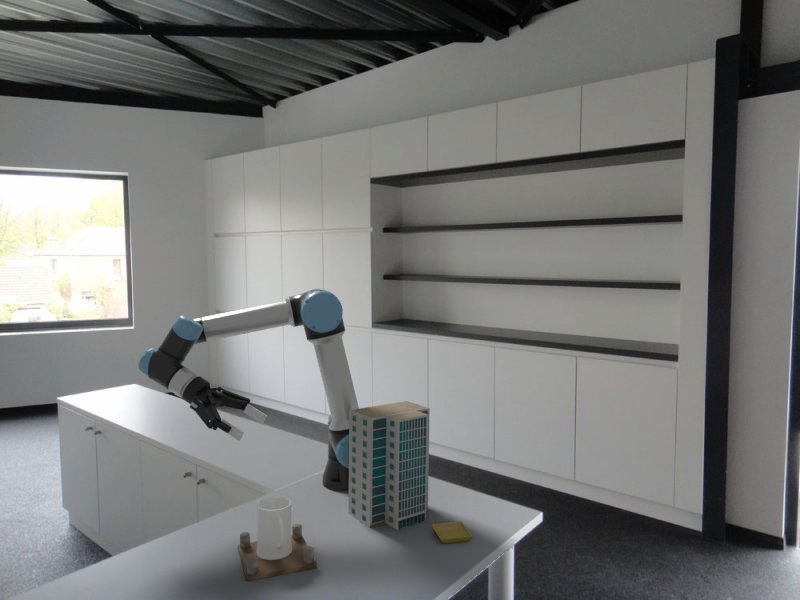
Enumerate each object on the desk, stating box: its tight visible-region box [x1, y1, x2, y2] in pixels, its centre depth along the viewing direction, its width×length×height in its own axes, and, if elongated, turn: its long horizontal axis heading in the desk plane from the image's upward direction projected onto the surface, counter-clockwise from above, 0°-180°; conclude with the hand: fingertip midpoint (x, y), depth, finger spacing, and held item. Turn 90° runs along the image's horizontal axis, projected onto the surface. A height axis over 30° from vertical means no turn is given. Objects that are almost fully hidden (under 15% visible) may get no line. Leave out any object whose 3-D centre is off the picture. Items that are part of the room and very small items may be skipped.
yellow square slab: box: [431, 521, 473, 544], centre depth 151 cm, size 9×9×2 cm
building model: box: [348, 400, 431, 531], centre depth 163 cm, size 20×16×30 cm
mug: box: [256, 496, 292, 560], centre depth 138 cm, size 12×8×12 cm
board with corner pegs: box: [237, 523, 318, 582], centre depth 138 cm, size 16×16×4 cm
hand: (254, 427), depth 155 cm, fingers open, 13 cm apart
